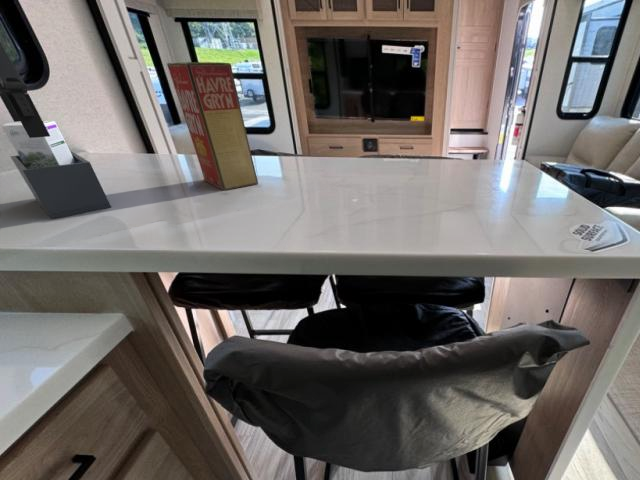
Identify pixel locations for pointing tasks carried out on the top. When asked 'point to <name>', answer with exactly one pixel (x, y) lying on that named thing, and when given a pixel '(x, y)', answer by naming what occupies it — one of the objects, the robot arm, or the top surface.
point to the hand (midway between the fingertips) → (33, 132)
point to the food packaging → (215, 122)
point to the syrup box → (39, 146)
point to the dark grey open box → (65, 187)
